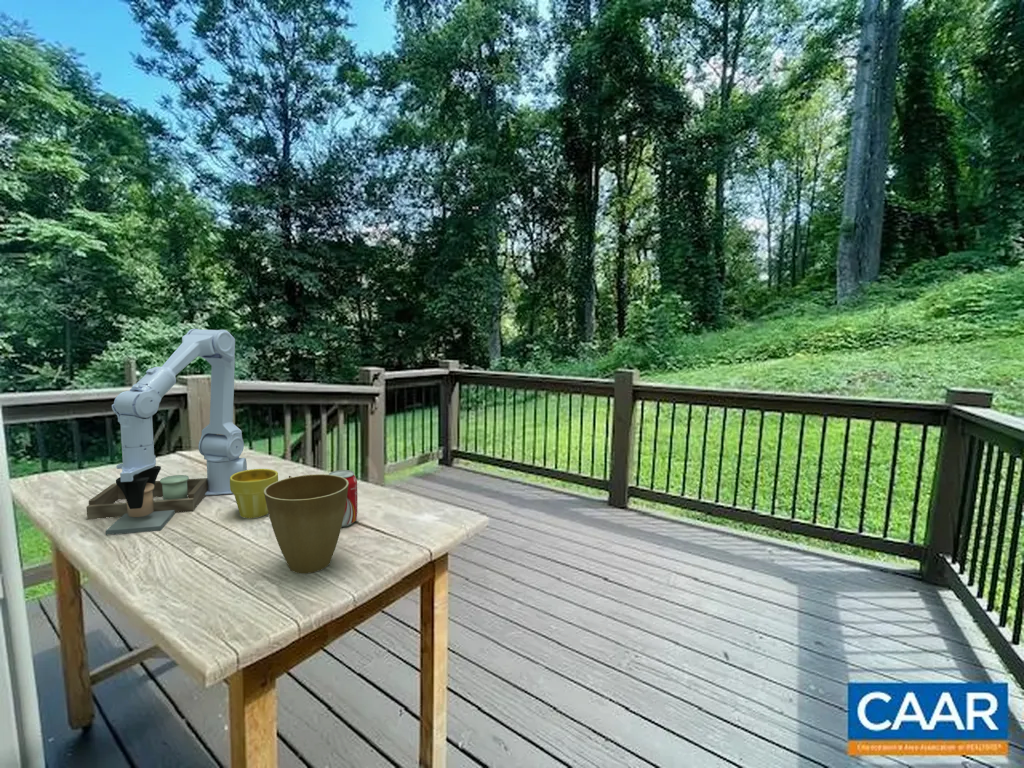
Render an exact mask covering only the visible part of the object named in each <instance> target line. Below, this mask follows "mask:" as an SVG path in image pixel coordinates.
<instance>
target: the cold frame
mask: <svg viewBox="0 0 1024 768" xmlns="http://www.w3.org/2000/svg"><path fill="white" fill-rule="evenodd" d="M187 491H188V498H186V499H171V500H163V499H159V500H158V499H157V500H153V505H154V511H167V510H175V514H177V513H190V512H194V511H195V510H196V508H197V507H198V506H199V504H200V503H201V502H202V501H203V500H204V498H205V497H206V496H205V493H206V492H207V491H208V482H207V477H204V478H189V480H188V481H187ZM162 496H163V489H162V484H161V483H160V480H156V481H155V486H154V491H153V498H163V497H162ZM118 499H121V500H126V498H125V495H124V493H123V492H122V490H121V489H120V487H119V486H118V485H117V484H116V482H115V483H112V484H110V485H109V486H108V487H106V488H105V489H103V490H101V491H100V492H99V493H97V494H96V495H95V496H94V497H92V498H90V499H89V500H88V505H87V506H86V507H85V508H86V520H98V519H97V518H100V519H107V518H106V517H109V518H108V519H110V517H113V518H121V517H122V516H123V515H124V514H127V502H117V501H118ZM202 499H203V500H202ZM115 501H116V502H117V503H116V502H115ZM154 511H153V512H154Z"/></svg>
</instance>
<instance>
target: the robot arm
mask: <svg viewBox="0 0 1024 768" xmlns="http://www.w3.org/2000/svg"><path fill="white" fill-rule="evenodd" d="M235 348H236V339H235V337H234V336H233V335H232V334H231V333H230V332H229V331H228V330H226V329H201V328H200V329H199V328H191V329H189V330H188V331H187V333H186V334H184V335H183V336H182V337H181V344H180V345H179V346H178V347H177V348H176V350H175V351H174V352H173V353H172V354H171V355H170V357H168V359H167V360H166V361H165V362H164V363H163V364H162V365H161V366H154V367H152V368H148V369H147V370H146V371H145V374H144V375H143V377H141V378H140V379H139V380H138V381H137V382H136V383H134V384H133V385H132V386H131V388H130V389H129V390H125V391H122V392H120V393H119V394H118V395H117V396H116V397H115V398H114V401H113V404H111V409H112V411H113V414H115V415H116V417H117V422H118V423H119V424H120V438H121V439H120V441H121V442H120V443H121V454H122V456H121V458H122V463H118V464H117V465H116V467H115V468H116V469H117V470H121V472H120V473H119V477H118V478H116V479H115V483H116V484H117V485H118V486H119V487H120V489H121V490H122V492H123V493H124V495H125V498H126V499H125V501H126V500H127V501H126V503H128V506H129V508H130V509H138V508H141V507H142V505H143V498H144V490H145V486H146V483H152V484H154V486H155V481H157V477H158V475H159V473H160V472H161V470H162V466H161V465H156V464H157V459H156V454H155V448H154V447H155V446H154V445H155V443H154V428H153V427H154V426H153V416H154V415H155V414H156V413H157V412H158V410H159V407H160V403H161V401H162V398H163V397H164V396H165V395H166V394H167V393H168V392H169V391H170V390H171V389H172V388H173V387H174V386H175V384H176V383H177V378H176V376H177V375H178V374H179V373H180V372H182V371H183V369H185V368H186V367H187V366H189V364H191V362H193V361H194V360H195V359H196V358H197V357H200V358H202V359H203V360H205V361H206V362H207V363H208V364H209V365H210V366H211V370H210V371H211V375H210V379H211V380H210V400H209V401H210V403H209V406H210V407H209V408H210V409H209V424H207V425H206V426H205V427H204V428H202V430H201V436H200V439H199V442H198V446H197V447H198V452H199V454H200V455H202V456H203V459H204V461H205V460H206V478H207V482H208V491H207V492H206V493H205V495H206V496H216V495H217V496H218V495H232V494H233V495H234V493H232V492H231V490H230V477H231V476H232V475H233V474H235V473H238V472H241V471H245V470H248V467H247V466H248V463H247V458H246V457H240V456H241V455H242V453H243V450H244V448H245V447H244V446H245V443H244V439H243V434H242V433H243V432H242V431H243V430H241V429H240V428H239V427H238V426H237V425H236V424H234V422H233V421H234V399H235V396H234V394H235V368H236V366H235V365H236V363H235V361H236V357H235V355H236V353H235V351H236V349H235ZM153 491H154V490H152V492H153Z"/></svg>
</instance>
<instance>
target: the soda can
mask: <svg viewBox="0 0 1024 768" xmlns="http://www.w3.org/2000/svg"><path fill="white" fill-rule="evenodd" d="M327 474H328V475H336V476H340V477H343V478H345V479H347V480H348V483H349V484H348V493H347V501H346V507H345V513H344V518H343V522H342V527H341V528H345V527H349V526H351V525H352V524H353V523H356V521H357V518H358V479H357V477H356V476H355V472H354V471H353V470H348V469H340V470H339V469H338V470H334V471H331V472H329V473H327Z"/></svg>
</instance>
